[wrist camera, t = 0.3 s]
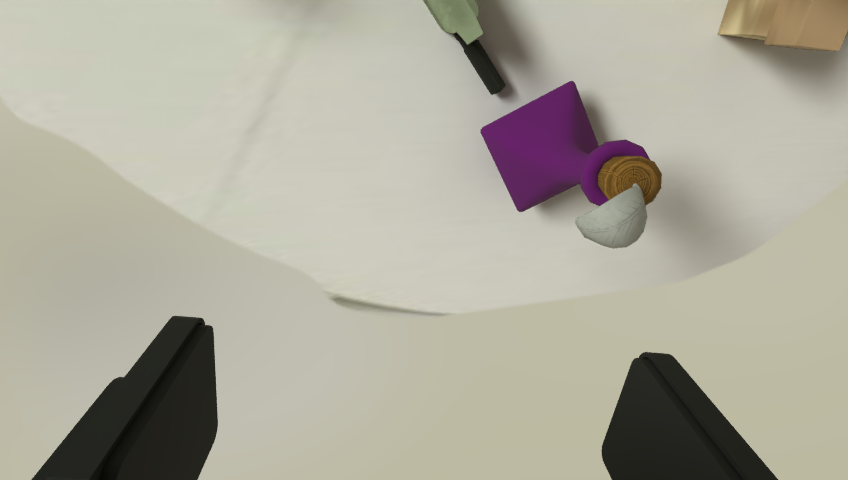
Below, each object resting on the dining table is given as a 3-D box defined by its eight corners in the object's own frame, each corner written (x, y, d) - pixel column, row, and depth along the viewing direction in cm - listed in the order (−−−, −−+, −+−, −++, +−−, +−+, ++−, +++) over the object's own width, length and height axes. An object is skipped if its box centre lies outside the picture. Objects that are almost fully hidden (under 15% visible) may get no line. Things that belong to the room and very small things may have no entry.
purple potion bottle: (559, 75, 38) (686, 111, 21) (591, 159, 41) (725, 248, 24) (472, 121, 39) (529, 189, 22) (509, 199, 42) (585, 311, 25)
